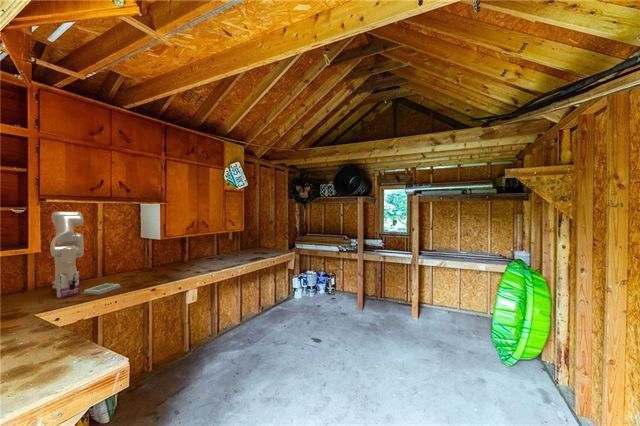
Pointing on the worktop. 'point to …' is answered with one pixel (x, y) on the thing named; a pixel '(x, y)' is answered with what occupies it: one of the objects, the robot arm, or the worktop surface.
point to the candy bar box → (66, 286)
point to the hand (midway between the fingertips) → (68, 289)
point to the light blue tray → (95, 291)
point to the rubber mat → (103, 292)
